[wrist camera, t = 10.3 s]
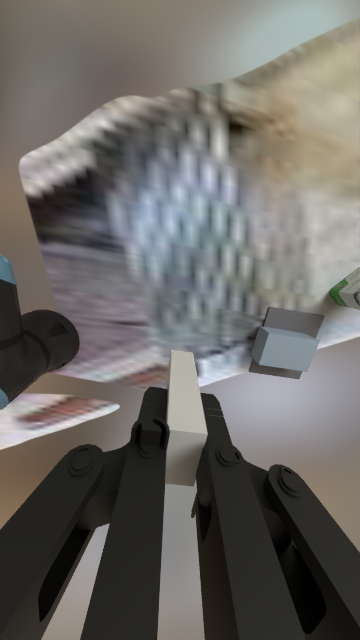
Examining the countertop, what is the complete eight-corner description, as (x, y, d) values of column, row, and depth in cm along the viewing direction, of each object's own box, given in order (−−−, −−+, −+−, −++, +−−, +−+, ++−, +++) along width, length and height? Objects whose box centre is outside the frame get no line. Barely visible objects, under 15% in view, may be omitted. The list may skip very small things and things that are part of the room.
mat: (249, 371, 50) (249, 372, 50) (269, 306, 46) (270, 307, 45) (297, 378, 51) (299, 379, 51) (322, 315, 46) (324, 316, 46)
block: (258, 364, 44) (307, 371, 45) (269, 333, 42) (319, 341, 42) (250, 354, 49) (294, 361, 49) (259, 326, 46) (305, 333, 47)
